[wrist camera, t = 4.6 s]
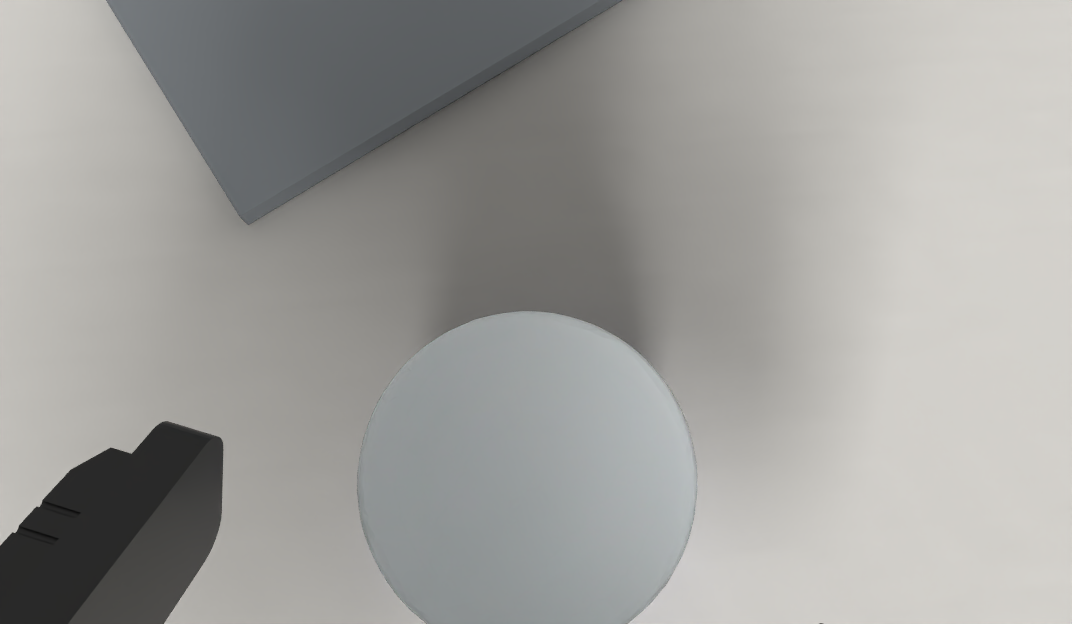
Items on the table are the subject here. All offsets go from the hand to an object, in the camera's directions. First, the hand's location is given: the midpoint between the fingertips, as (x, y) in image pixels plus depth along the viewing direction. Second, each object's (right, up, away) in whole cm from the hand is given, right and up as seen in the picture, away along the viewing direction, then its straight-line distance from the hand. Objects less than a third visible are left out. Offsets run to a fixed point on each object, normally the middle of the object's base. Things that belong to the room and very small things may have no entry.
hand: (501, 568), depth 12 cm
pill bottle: (0, 0, +7) cm, 7 cm away
